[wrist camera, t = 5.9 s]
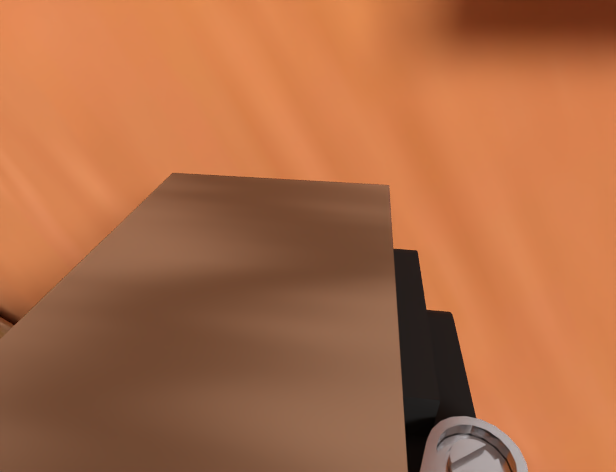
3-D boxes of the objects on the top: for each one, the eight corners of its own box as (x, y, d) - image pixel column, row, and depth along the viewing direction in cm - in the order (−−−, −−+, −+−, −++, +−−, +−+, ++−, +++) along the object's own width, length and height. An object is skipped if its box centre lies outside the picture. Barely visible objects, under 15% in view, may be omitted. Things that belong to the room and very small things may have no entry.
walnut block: (389, 185, 10) (411, 531, 4) (371, 348, 12) (367, 708, 6) (172, 172, 10) (-120, 453, 4) (199, 332, 13) (43, 645, 7)
